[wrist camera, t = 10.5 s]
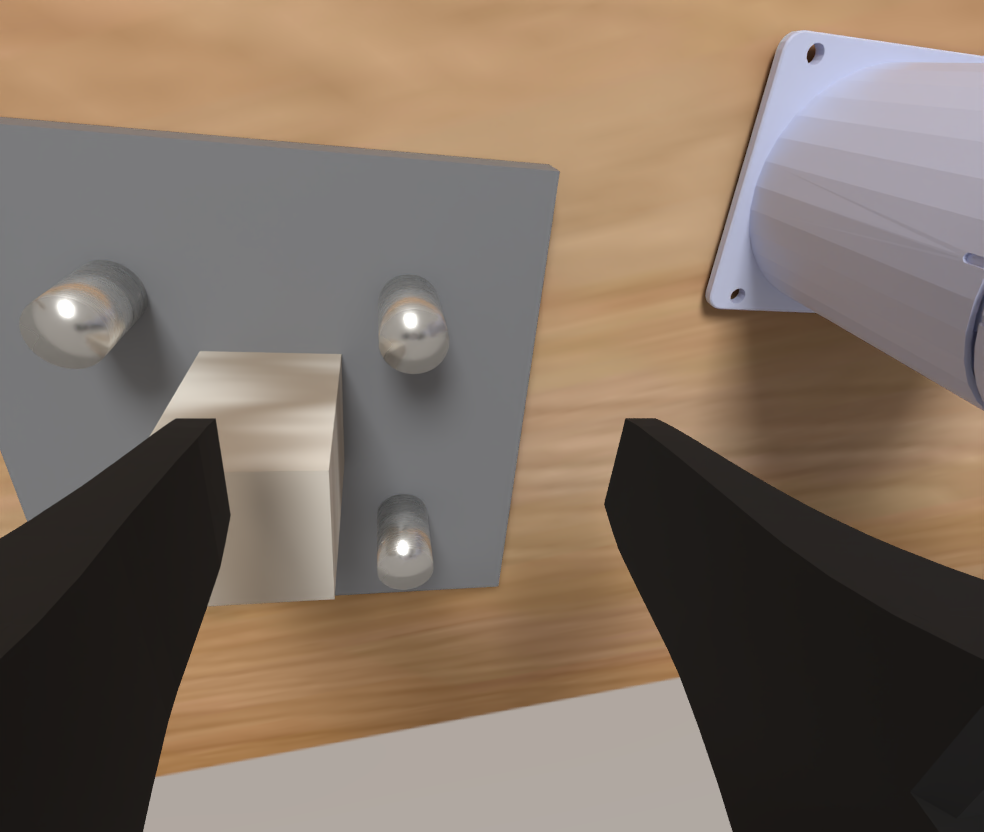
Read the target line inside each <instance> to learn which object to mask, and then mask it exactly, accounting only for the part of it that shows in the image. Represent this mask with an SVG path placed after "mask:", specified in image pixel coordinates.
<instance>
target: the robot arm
mask: <svg viewBox="0 0 984 832" xmlns="http://www.w3.org/2000/svg"><path fill="white" fill-rule="evenodd" d="M813 44H814V46H815V48H816V52H815V56H814V58H813V60H812V61H811V62H810V63H808V61H807V59H806V58H807V52H808V50H809V48H810V47H811V46H812V45H813ZM736 289H739V293H738V295H737V296H736V297H735V298H734V299H730V298H731V294H732V292H733V291H735V290H736ZM705 297H706V300H707V302H708V303H709V304H710V305H712V306H713V307H714V308H717V309H731V310H756V311H781V312H806V313H817V314H819V315H821V316H823V317H824V318H826V319H828V320H829V321H831V322H833V323H835V324H836V325H838V326H840V327H841V328H843V329H845V330H847V331H848V332H850V333H852V334H853V335H855V336H857V337H858V338H860V339H862V340H864V341H865V342H867V343H869V344H870V345H872V346H874V347H876V348H877V349H879V350H881V351H882V352H884V353H886V354H888V355H889V356H891V357H893V358H894V359H896V360H898V361H900V362H901V363H903V364H905V365H906V366H908V367H910V368H912V369H913V370H915V371H917V372H918V373H920V374H922V375H923V376H925V377H927V378H929V379H930V380H932V381H934V382H935V383H937V384H939V385H941V386H942V387H944V388H946V389H947V390H949V391H951V392H953V393H954V394H956V395H958V396H959V397H961V398H963V399H965V400H966V401H968V402H970V403H971V404H973V405H975V406H977V407H978V408H980V409H982V410H983V411H984V56H979V55H972V54H965V53H958V52H951V51H944V50H938V49H931V48H924V47H917V46H910V45H903V44H896V43H889V42H882V41H875V40H869V39H862V38H855V37H848V36H841V35H834V34H827V33H820V32H813V31H807V30H802V31H792V32H790V33H789V34H787V35H785V37H784V38H783V39H782V40H781V41H780V43H779V45H778V47H777V50H776V53H775V56H774V60H773V63H772V67H771V70H770V74H769V77H768V80H767V84H766V87H765V91H764V94H763V98H762V101H761V104H760V108H759V111H758V115H757V118H756V122H755V125H754V128H753V132H752V135H751V139H750V142H749V146H748V149H747V152H746V156H745V159H744V163H743V166H742V170H741V173H740V176H739V180H738V183H737V187H736V190H735V194H734V197H733V200H732V204H731V207H730V211H729V214H728V218H727V221H726V224H725V228H724V231H723V235H722V238H721V242H720V245H719V248H718V252H717V255H716V259H715V262H714V265H713V269H712V272H711V276H710V279H709V283H708V286H707V289H706V296H705ZM604 505H605V508H606V512H607V515H608V518H609V522H610V525H611V528H612V531H613V534H614V537H615V540H616V543H617V546H618V549H619V551H620V553H621V555H622V558H623V560H624V562H625V564H626V566H627V568H628V570H629V572H630V574H631V576H632V578H633V580H634V582H635V584H636V587H637V589H638V591H639V593H640V595H641V597H642V599H643V601H644V603H645V605H646V607H647V609H648V611H649V613H650V615H651V617H652V619H653V621H654V623H655V625H656V627H657V629H658V631H659V633H660V635H661V637H662V639H663V641H664V643H665V645H666V647H667V649H668V651H669V653H670V655H671V658H672V660H673V662H674V664H675V667H676V669H677V671H678V673H679V676H680V678H681V681H682V683H683V686H684V689H685V692H686V694H687V697H688V700H689V703H690V705H691V708H692V710H693V713H694V716H695V719H696V721H697V724H698V727H699V730H700V733H701V735H702V739H703V742H704V744H705V747H706V750H707V753H708V756H709V759H710V762H711V765H712V768H713V771H714V774H715V777H716V780H717V783H718V786H719V789H720V792H721V795H722V798H723V802H724V805H725V808H726V812H727V815H728V818H729V821H730V824H731V828H732V831H733V832H984V580H983V579H980V578H977V577H974V576H971V575H968V574H966V573H963V572H960V571H957V570H954V569H951V568H949V567H946V566H943V565H941V564H938V563H936V562H933V561H931V560H928V559H925V558H923V557H920V556H918V555H915V554H913V553H910V552H908V551H905V550H902V549H900V548H897V547H895V546H893V545H890V544H888V543H886V542H883V541H881V540H879V539H876V538H874V537H872V536H869V535H867V534H865V533H863V532H861V531H859V530H857V529H854V528H852V527H850V526H848V525H846V524H844V523H842V522H839V521H837V520H835V519H833V518H831V517H829V516H827V515H825V514H823V513H821V512H819V511H817V510H815V509H813V508H811V507H809V506H807V505H805V504H803V503H802V502H800V501H798V500H796V499H794V498H792V497H791V496H789V495H787V494H785V493H783V492H781V491H780V490H778V489H776V488H774V487H772V486H771V485H769V484H767V483H766V482H764V481H762V480H760V479H759V478H757V477H755V476H754V475H752V474H750V473H748V472H747V471H745V470H743V469H742V468H740V467H738V466H737V465H735V464H734V463H732V462H730V461H729V460H727V459H725V458H724V457H722V456H720V455H719V454H717V453H716V452H714V451H712V450H711V449H709V448H707V447H706V446H704V445H702V444H701V443H699V442H698V441H696V440H694V439H693V438H691V437H689V436H688V435H686V434H684V433H683V432H681V431H679V430H677V429H676V428H674V427H672V426H670V425H668V424H666V423H664V422H662V421H660V420H658V419H656V418H626V419H625V423H624V427H623V431H622V435H621V439H620V443H619V447H618V451H617V455H616V459H615V463H614V467H613V471H612V475H611V479H610V483H609V487H608V491H607V495H606V499H605V503H604ZM230 517H231V513H230V507H229V501H228V494H227V488H226V481H225V475H224V468H223V462H222V455H221V449H220V442H219V436H218V429H217V423H216V418H176V419H174V420H173V421H171V422H169V423H168V424H166V425H165V426H163V427H162V428H161V429H159V430H158V431H157V432H155V433H154V434H152V435H151V436H150V437H148V438H147V439H146V440H144V441H143V442H142V443H140V444H139V445H138V446H136V447H135V448H134V449H132V450H131V451H129V452H128V453H127V454H125V455H124V456H123V457H121V458H120V459H119V460H117V461H116V462H114V463H113V464H112V465H110V466H109V467H107V468H106V469H105V470H103V471H102V472H101V473H99V474H98V475H96V476H95V477H94V478H92V479H91V480H89V481H88V482H87V483H85V484H84V485H82V486H81V487H79V488H78V489H76V490H75V491H73V492H72V493H70V494H69V495H67V496H66V497H64V498H63V499H61V500H60V501H58V502H57V503H55V504H54V505H52V506H51V507H49V508H48V509H46V510H44V511H43V512H41V513H40V514H38V515H37V516H35V517H34V518H32V519H31V520H29V521H28V522H26V523H25V524H23V525H22V526H20V527H18V528H17V529H15V530H13V531H12V532H10V533H8V534H7V535H5V536H3V537H2V538H0V832H143V829H144V824H145V820H146V814H147V811H148V806H149V801H150V797H151V792H152V788H153V784H154V779H155V775H156V771H157V767H158V763H159V758H160V754H161V750H162V746H163V742H164V737H165V733H166V729H167V725H168V721H169V717H170V714H171V711H172V708H173V704H174V701H175V698H176V694H177V691H178V688H179V685H180V683H181V680H182V677H183V674H184V671H185V668H186V665H187V663H188V660H189V657H190V654H191V651H192V648H193V646H194V643H195V640H196V637H197V634H198V631H199V628H200V626H201V623H202V620H203V617H204V614H205V611H206V609H207V606H208V603H209V600H210V597H211V594H212V591H213V588H214V585H215V582H216V579H217V576H218V573H219V570H220V567H221V562H222V558H223V553H224V548H225V543H226V538H227V533H228V527H229V522H230Z"/></svg>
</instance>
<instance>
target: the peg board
mask: <svg viewBox="0 0 984 832" xmlns="http://www.w3.org/2000/svg"><path fill="white" fill-rule="evenodd" d="M559 173H560V171H558V170H557V169H555V168H554V167H552V166H550V165H549V164H537V163H525V162H514V161H502V160H491V159H479V158H468V157H456V156H445V155H433V154H422V153H410V152H399V151H387V150H376V149H364V148H352V147H341V146H329V145H318V144H306V143H295V142H283V141H272V140H260V139H249V138H237V137H226V136H214V135H203V134H191V133H179V132H168V131H156V130H145V129H133V128H122V127H110V126H99V125H87V124H76V123H64V122H53V121H41V120H30V119H18V118H7V117H0V451H1V453H2V456H3V458H4V461H5V464H6V466H7V469H8V472H9V474H10V477H11V480H12V482H13V485H14V488H15V490H16V493H17V495H18V498H19V501H20V503H21V506H22V509H23V511H24V514H25V517H26V519H27V522H28V521H29V520H31V519H32V518H34V517H35V516H37V515H38V514H40V513H41V512H43V511H44V510H46V509H48V508H49V507H51V506H52V505H54V504H55V503H57V502H58V501H60V500H61V499H63V498H64V497H66V496H67V495H69V494H70V493H72V492H73V491H75V490H76V489H78V488H79V487H81V486H82V485H84V484H85V483H87V482H88V481H89V480H91V479H92V478H94V477H95V476H96V475H98V474H99V473H101V472H102V471H103V470H105V469H106V468H107V467H109V466H110V465H112V464H113V463H114V462H116V461H117V460H119V459H120V458H121V457H123V456H124V455H125V454H127V453H128V452H129V451H131V450H132V449H134V448H135V447H136V446H138V445H139V444H140V443H142V442H143V441H144V440H146V439H147V438H148V437H150V435H151V433H152V432H153V430H154V428H155V426H156V425H157V423H158V421H159V420H160V418H161V416H162V414H163V413H164V411H165V409H166V408H167V406H168V404H169V403H170V401H171V399H172V397H173V396H174V394H175V392H176V391H177V389H178V387H179V386H180V384H181V382H182V380H183V379H184V377H185V375H186V374H187V372H188V370H189V369H190V367H191V365H192V363H193V362H194V360H195V358H196V357H197V355H198V353H199V352H200V351H218V352H265V353H313V354H341V356H342V392H343V427H344V476H343V489H342V503H341V517H340V531H339V544H338V558H337V572H336V586H335V595H352V594H370V593H388V592H405V591H423V590H441V589H459V588H477V587H495V586H498V584H499V578H500V571H501V564H502V557H503V551H504V544H505V537H506V530H507V524H508V517H509V510H510V503H511V497H512V490H513V483H514V476H515V470H516V463H517V456H518V449H519V443H520V436H521V429H522V422H523V416H524V409H525V402H526V395H527V389H528V382H529V375H530V368H531V362H532V355H533V348H534V341H535V335H536V328H537V321H538V314H539V308H540V301H541V294H542V287H543V281H544V274H545V267H546V260H547V254H548V247H549V240H550V233H551V227H552V220H553V213H554V206H555V200H556V193H557V186H558V179H559Z"/></svg>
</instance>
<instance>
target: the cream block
mask: <svg viewBox="0 0 984 832" xmlns="http://www.w3.org/2000/svg"><path fill="white" fill-rule="evenodd" d="M176 418H216V423H217V429H218V436H219V442H220V449H221V455H222V462H223V468H224V475H225V481H226V488H227V494H228V501H229V507H230V513H231V517H230V522H229V527H228V533H227V538H226V543H225V548H224V553H223V558H222V562H221V567H220V570H219V573H218V576H217V579H216V582H215V585H214V588H213V591H212V594H211V597H210V600H209V603H208V606H222V605H239V604H257V603H274V602H292V601H310V600H327V599H335V586H336V572H337V558H338V544H339V531H340V517H341V503H342V489H343V476H344V427H343V392H342V356H341V354H313V353H265V352H218V351H200V352H199V353H198V355H197V357H196V358H195V360H194V362H193V363H192V365H191V367H190V369H189V370H188V372H187V374H186V375H185V377H184V379H183V380H182V382H181V384H180V386H179V387H178V389H177V391H176V392H175V394H174V396H173V397H172V399H171V401H170V403H169V404H168V406H167V408H166V409H165V411H164V413H163V414H162V416H161V418H160V420H159V421H158V423H157V425H156V426H155V428H154V430H153V432H152V433H151V435H152V434H154V433H155V432H157V431H158V430H159V429H161V428H162V427H163V426H165V425H166V424H168V423H169V422H171V421H173V420H174V419H176ZM151 435H150V436H151Z"/></svg>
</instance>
